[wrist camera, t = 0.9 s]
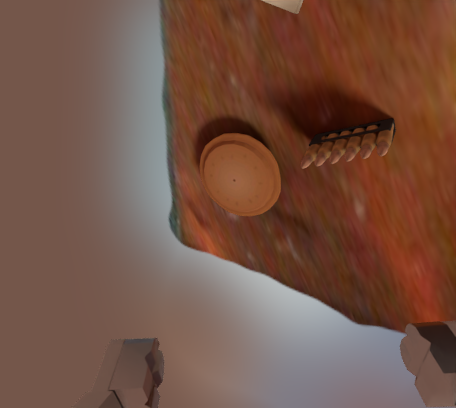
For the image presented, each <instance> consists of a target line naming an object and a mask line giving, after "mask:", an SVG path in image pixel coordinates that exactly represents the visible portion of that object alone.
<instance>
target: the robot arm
mask: <svg viewBox="0 0 456 408" xmlns="http://www.w3.org/2000/svg"><path fill="white" fill-rule="evenodd" d="M405 331H406V333H407V336H406V337H404V338H403V339H402V341H401V344H400V350H401V356H402V359H403V362H404V364H405V366H406V368H407V370H408V371H410V372H411V373H412V374H413V375H415V376H416V380H415V386H416V388H417V390H418V391H419V394H420V395H421V397H422V399H423V401H424V403H425V405H426V407H442V406H443V407H444V406H456V321H445V322H440V321H438V322H424V323H411V324H408V325H407V326H406V329H405ZM158 349H159V341H158V339H157V338H143V339H118V340H111V341H110V342H109V344H108V345H107V348H106V351H105V353H104V356H103V359H102V361H101V364H100V367H99V370H98V372H97V375H96V378H95V381H94V384H93V386H92V389H91V392H86V393H85V394H84V395H83V396H82V397H81V398H80V399H79V400H78V401H77V402H76V403H75V404H74V405H73V406H72V407H71V408H158V404H159V398H160V395H159V392H158V390H157V388H158V387H159V385H160V384H161V383H162V381H163V375H164V357H163V353H162V352H161V351H160V350H158Z"/></svg>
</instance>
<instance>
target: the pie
mask: <svg viewBox="0 0 456 408" xmlns="http://www.w3.org/2000/svg"><path fill="white" fill-rule="evenodd" d="M200 176H201V180H202V183H203V185H204V188H205V190H206V191H207V193H208V194H209V196H210V197H211V198H212V199H213V200H214V201H215V202H216V203H217V204H218V205H219V206H221V207H222V208H224V209H225V210H227V211H228V212H230V213H233V214H236V215H239V216H254V215H259V214H262V213H264V212H265V211H267V210H268V209H270V208H271V207H272V206H273V204H274V203H275V202H276V201H277V199H278V197H279V194H280V191H281V179H280V172H279V167H278V163H277V162H276V160H275V158H274V157H273V155H272V153H271V152H270V151H269V150H268V149H267V148H266V147H265V146H264V145H263V144H262V143H261V142H260V141H258V140H256V139H255V138H253V137H251V136H249V135H246V134H240V133H225V134H222V135H220V136H218V137H216V138H214V139H213V140H211V141H210V142H209V143H208V144H207V145H205V148H204V150H203V152H202V154H201V159H200Z"/></svg>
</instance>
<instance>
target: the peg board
mask: <svg viewBox="0 0 456 408" xmlns="http://www.w3.org/2000/svg"><path fill="white" fill-rule="evenodd" d="M262 1H265V2H267V3H270V4H272V5H275V6H277V7H280V8H282V9H285V10H287V11H290V12H292V13H295V14H298V13H299V10H300V8H301V5H302V2H303V0H262Z"/></svg>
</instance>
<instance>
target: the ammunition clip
mask: <svg viewBox="0 0 456 408" xmlns="http://www.w3.org/2000/svg"><path fill="white" fill-rule="evenodd" d="M395 131H396V130H395V123H394V119H393V118H391V119H386V120H382V121H377V122H372V123H368V124H363V125H358V126H354V127H349V128H344V129H339V130H335V131H330V132H325V133H321V134H316V135H315V136H314V138H313V139H312V141H311V142H310V144H309V146H310V147H309V149H308V150H307V151H306V153H305V156H304V158H303V159H302V161H301V168H306V167H308V166H309V165H310V164H311V163H312V162H313V161H314V160H315V165H316V166H320V165H322V164H323V163H324V162H325V160H326V159H327V158H329V156H330V159H329V160H330V163H331V164H334V163H336V162H337V161H338V160H339V159H340V157H341V156H342V155H343V154H344V153H345V160H346V161H351V160H352V159H353V158H354V157H355V155H356V153H357V152H358V151H359V149H360V148H361V151H360V155H361V157H362V158H363V159H366V158H368V157H369V156H370V154H371V152H372V150H373V149H374V148H375V145H377V153H378V155H379V156H384V155H385V154H386V153H387V151H388V148H389V147H390V145H391V143H392V141H393V138H394V134H395Z"/></svg>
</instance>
